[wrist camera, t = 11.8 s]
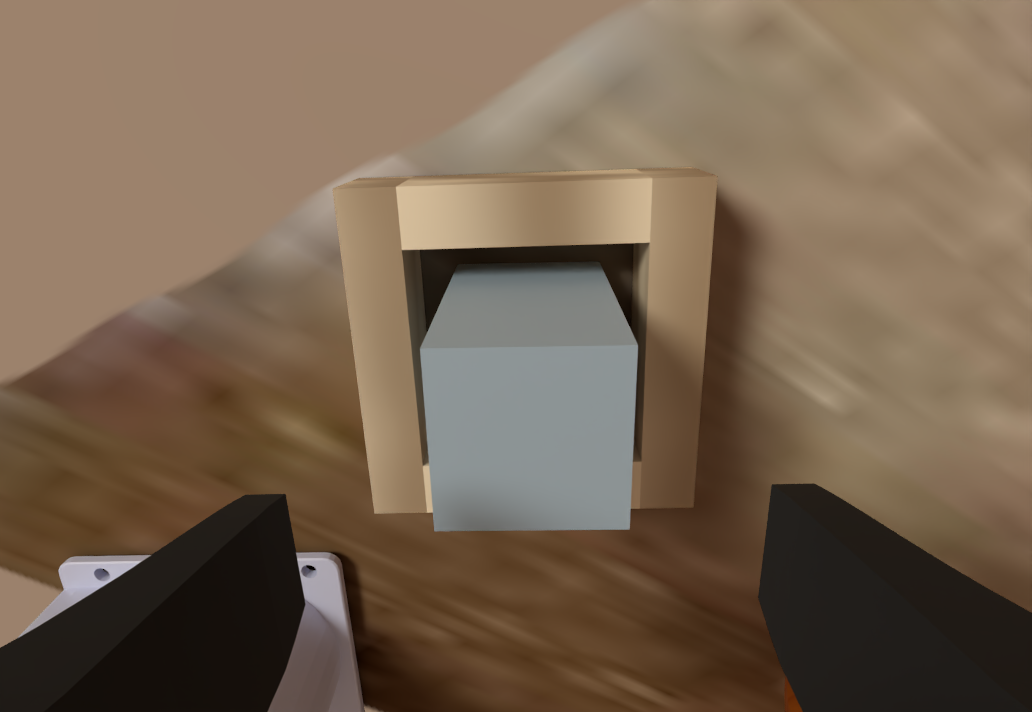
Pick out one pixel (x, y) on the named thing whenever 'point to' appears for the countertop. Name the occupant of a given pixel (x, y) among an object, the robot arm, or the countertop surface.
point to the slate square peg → (530, 400)
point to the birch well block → (515, 223)
